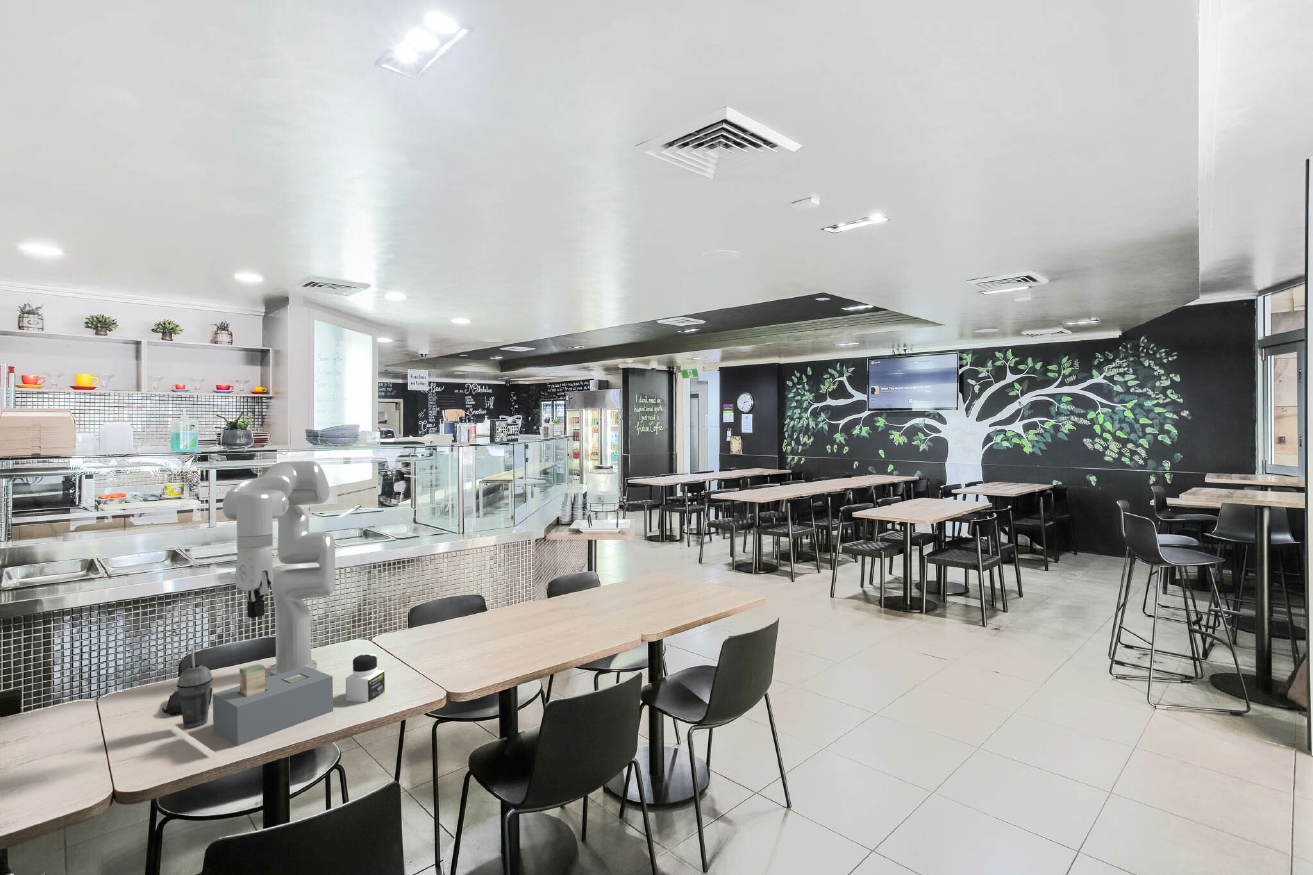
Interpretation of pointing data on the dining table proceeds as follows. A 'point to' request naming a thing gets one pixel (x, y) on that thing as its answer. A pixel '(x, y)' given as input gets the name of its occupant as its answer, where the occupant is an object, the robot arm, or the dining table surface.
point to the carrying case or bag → (176, 704)
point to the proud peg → (252, 679)
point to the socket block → (272, 706)
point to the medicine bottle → (365, 679)
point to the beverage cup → (195, 694)
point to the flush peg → (294, 678)
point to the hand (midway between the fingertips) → (255, 616)
